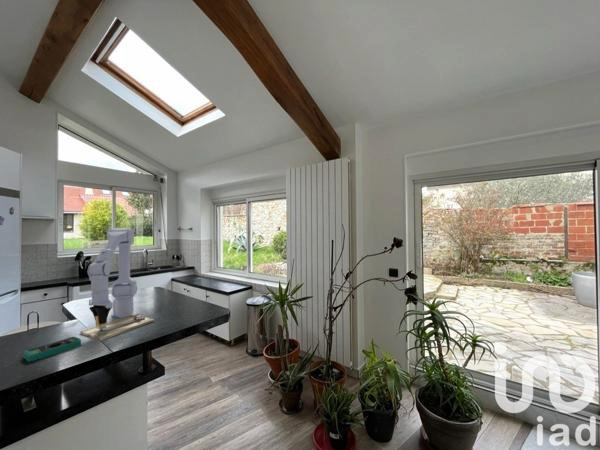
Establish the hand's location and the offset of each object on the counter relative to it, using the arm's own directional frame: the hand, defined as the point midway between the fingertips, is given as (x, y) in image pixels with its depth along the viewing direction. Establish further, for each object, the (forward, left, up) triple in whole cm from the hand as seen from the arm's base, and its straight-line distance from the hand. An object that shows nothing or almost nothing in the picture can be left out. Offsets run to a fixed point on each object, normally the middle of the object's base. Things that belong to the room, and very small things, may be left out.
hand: (101, 322), depth 112 cm
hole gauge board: (0, +7, -4) cm, 8 cm away
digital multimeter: (+2, -16, -5) cm, 17 cm away
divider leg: (+1, 0, -3) cm, 3 cm away
